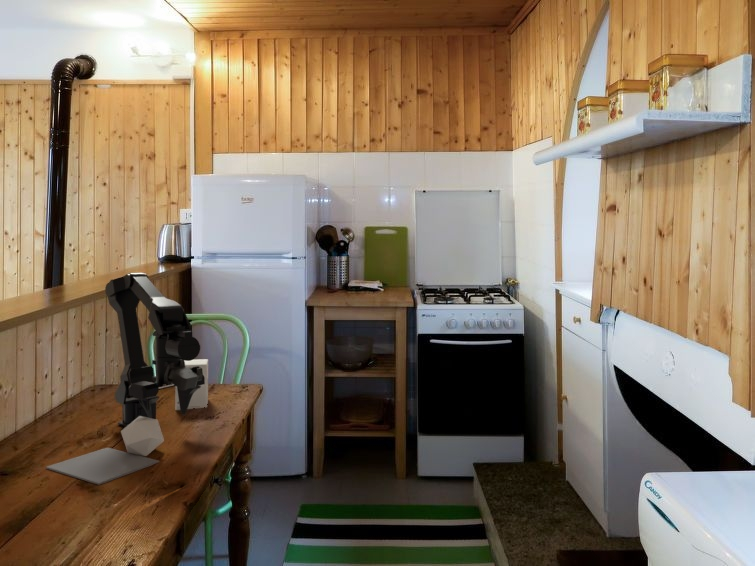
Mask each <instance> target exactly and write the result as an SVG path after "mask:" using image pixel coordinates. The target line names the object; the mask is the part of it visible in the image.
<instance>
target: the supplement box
mask: <svg viewBox="0 0 755 566" xmlns="http://www.w3.org/2000/svg"><path fill="white" fill-rule="evenodd" d="M184 361H185V360H184ZM194 366H200V367H202V371H203V375H204V377H205V384H203V385H199V386H201V388H199V389H197V390H196V391H195V392H194V393H193V395H192V397H191V400H190V403H189V406H188V409H187V410H194V409H193V408H195V409H203V408H204V407H205V408H208V405H209V359H208V358H207V359H205V358H202V359H196V358H195V359H193V360H191V361H185V367H186V368H192V367H194ZM174 388H175V389H174V390H175V391H174V393H175V394H174V395H175V396H174V397H175V399H174V401H175V402H174V404H175V405H174V409H175V411H181V410H180V404H179V397H178V390H177V386H175V387H174ZM207 404H208V405H207Z"/></svg>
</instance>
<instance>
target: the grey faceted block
mask: <svg viewBox="0 0 755 566" xmlns="http://www.w3.org/2000/svg"><path fill="white" fill-rule="evenodd" d="M120 434H121V437H122V439H123V443H124V445H125V448H126V452H127V453H131V454H135V455H139V456H143V457H147V456H149V455H150V454H151V453H152V452H153V451H154V450H156V448H158V447H159V446H160V445H161V444H162V443H163V442H165V438H164V436H163V432H162V429H161V427H160V422H159V419H157V418H156V419H152V418H147V417H142V416H139V417H138V418H136V419H135V420H134V421H133V422H131V423H130V424H129V425H128V426H124V428H123V429H122V430H121V431H120Z"/></svg>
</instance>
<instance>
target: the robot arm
mask: <svg viewBox="0 0 755 566" xmlns="http://www.w3.org/2000/svg"><path fill="white" fill-rule="evenodd" d="M104 288H105V289H104V290H105V296H106V297H107V299H108V300H107V301H108V303H109V305H110V306H111V308H112V309H113V310H114V311H115V312H116V314H117V321H118V328H119V332H120V333H119V334H120V341H121V348H122V353H123V360H124V367H123V370H122V371H121V374H120V377H119V380H120V383H119V385H118V387H117V389H116V391H115V393H114V398H115V399H114V400H115V402H116V403H118V404H121V405H122V406H121V407H122V420H121V421H118V422H117V425H119V426H124V427H126V426H128V425H129V424H130V423H131V422H133V421H134V420H135V419H136V418H138V417H139V416H142V417H147V418H152V419H157V402H158V400H159V399H160V396H159V395H158V393H159V391H162V390H166V389H168V388H169V389H170V388H175V386H177V390H178V397H179V404H180V410H179V411H180V413H181V415H182V416H185V415H186V414H187V411H188V410H189V409H188V406H189V403H190V400H191V397H192V395H193V393H194V392H195V391H196V390H197V389H199V388H201V386H199V385H203V384H205V377H204V375H203V371H202V367H200V366H194V367H192V368H186V367H185V361H191V360H194V359H196V358H197V357H198V355H200V352H201V344H200V342H199V340H198V338H196V337H194V336H193V330H192V328H191V327H192V324H191V322H190V320H189V319H188V316H187V314H186V311H185V309H184V307H183V306H182V304H180V303H178V302H177V301H175V300H173V299H169V298H167V297H165V296H164V295H163V294H162V293H161V292H160V290H159V289H158V288H157V286H155V285H154V284H153V283H152V281H150V279H149V276H148V274H147V273H144V272H130V273H127V274H125V275H122V276H120V277H117V278H112V279H110V280H109V282H107V283H106V285H105V287H104ZM140 302H141V303H142V304H143V305H144V307H145V308H146V309H147V310H148V316H147V317H148V321H149V322H150V324H151V326H152V327H153V328H154V331H153V332H152V334H151V335H152V336H153V337H155V359H152V360H151V361H152V365H155V370H154V367H153V366H152V365H148V364H147V363H146V362H145V357H144V351H143V345H142V338H141V337H142V336H141V332H140V326H139V319H138V312H137V308H138V306H139V304H140ZM184 360H185V361H184ZM154 371H155V373H154ZM157 395H158V396H157Z"/></svg>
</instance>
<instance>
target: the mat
mask: <svg viewBox="0 0 755 566" xmlns="http://www.w3.org/2000/svg"><path fill="white" fill-rule="evenodd" d="M158 463H160V460H157V459H153V458H150V457H147V456H142V455H137V454H132V453H128V452H127V451H123V450H118V449H115V448H111V447H104V448H101V449H98V450H95V451H92V452H88V453H86V454H82V455H79V456H75V457H71V458H69V459H66V460H63V461H60V462H57V463H53V464H50V465H47V466H45V469H46V470H50V471H53V472H56V473H59V474H62V475H66V476H68V477H72V478H76V479H79V480H82V481H84V482H85V481H86V482H88V483H91V484H94V485H98V486H101V485H103V484H106V483H108V482H111V481H113V480H116V479H118V478H121V477H124V476H127V475H129V474H133V473H135V472H139V471H141V470H143V469H146V468H149V467H151V466H153V465H156V464H158Z"/></svg>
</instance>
